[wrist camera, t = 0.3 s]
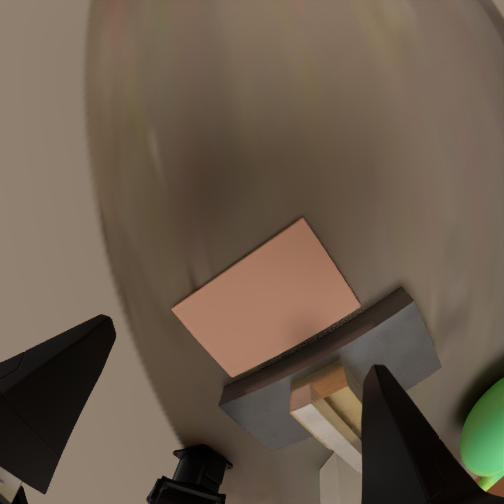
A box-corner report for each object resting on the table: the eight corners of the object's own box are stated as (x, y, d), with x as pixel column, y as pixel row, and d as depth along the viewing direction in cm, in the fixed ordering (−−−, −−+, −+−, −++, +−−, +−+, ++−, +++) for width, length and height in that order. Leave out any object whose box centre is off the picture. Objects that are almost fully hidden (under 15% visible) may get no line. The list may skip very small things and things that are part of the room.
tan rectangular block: (327, 424, 23) (329, 450, 20) (290, 384, 22) (289, 412, 19) (372, 402, 22) (380, 428, 19) (341, 358, 21) (347, 386, 18)
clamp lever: (365, 470, 20) (367, 485, 18) (286, 394, 18) (285, 414, 16) (387, 461, 19) (390, 476, 17) (316, 380, 17) (318, 400, 15)
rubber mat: (233, 373, 26) (232, 377, 26) (173, 306, 25) (171, 309, 25) (359, 303, 23) (360, 306, 22) (302, 217, 22) (303, 218, 21)
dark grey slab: (292, 447, 29) (290, 491, 22) (224, 386, 27) (208, 435, 20) (439, 374, 24) (463, 414, 17) (401, 286, 22) (435, 324, 15)
